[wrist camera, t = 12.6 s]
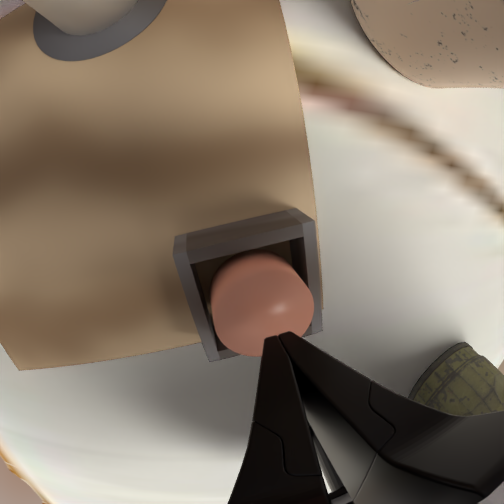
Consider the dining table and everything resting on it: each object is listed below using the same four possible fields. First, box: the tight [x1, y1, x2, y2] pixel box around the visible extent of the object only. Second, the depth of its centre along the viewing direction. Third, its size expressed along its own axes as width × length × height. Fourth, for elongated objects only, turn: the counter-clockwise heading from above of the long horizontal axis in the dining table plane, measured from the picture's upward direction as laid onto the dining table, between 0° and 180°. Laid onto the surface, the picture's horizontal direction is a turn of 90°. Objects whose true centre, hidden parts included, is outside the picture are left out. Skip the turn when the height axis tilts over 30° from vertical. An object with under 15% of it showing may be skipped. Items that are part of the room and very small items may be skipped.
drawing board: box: [0, 0, 323, 371], centre depth 9 cm, size 20×19×2 cm
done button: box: [209, 249, 314, 357], centre depth 11 cm, size 4×4×2 cm
